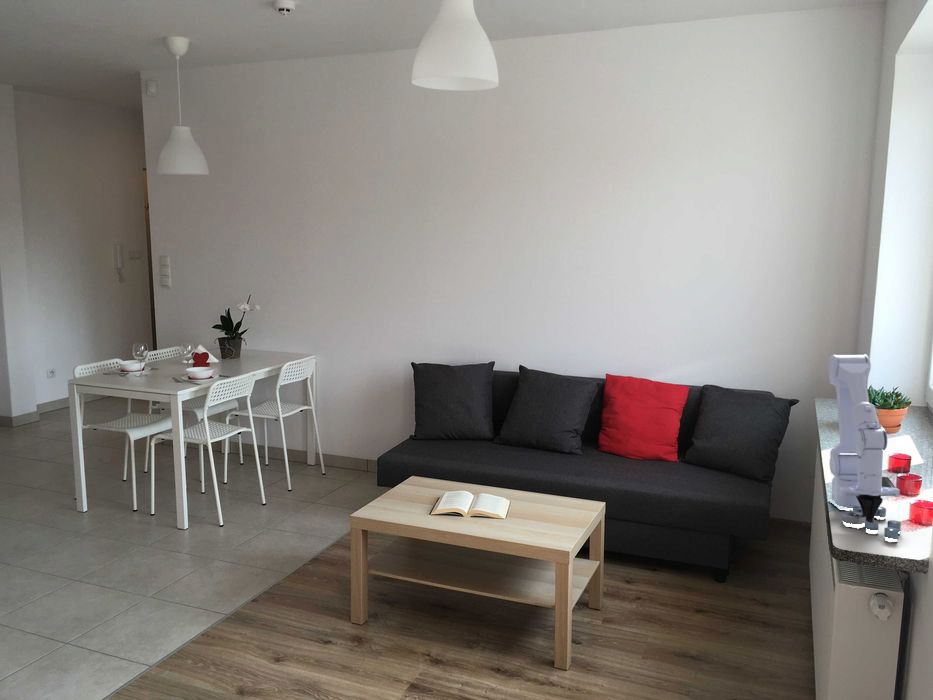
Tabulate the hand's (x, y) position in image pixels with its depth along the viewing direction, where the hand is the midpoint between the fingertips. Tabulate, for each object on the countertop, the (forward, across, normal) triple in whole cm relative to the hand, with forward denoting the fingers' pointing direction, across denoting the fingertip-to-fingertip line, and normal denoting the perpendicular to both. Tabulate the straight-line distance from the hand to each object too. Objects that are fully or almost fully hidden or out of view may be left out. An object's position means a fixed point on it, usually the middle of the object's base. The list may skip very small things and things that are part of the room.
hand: (868, 522), depth 204 cm
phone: (+2, +18, +37) cm, 41 cm away
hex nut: (+1, -4, 0) cm, 4 cm away
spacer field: (+1, +2, -3) cm, 3 cm away
